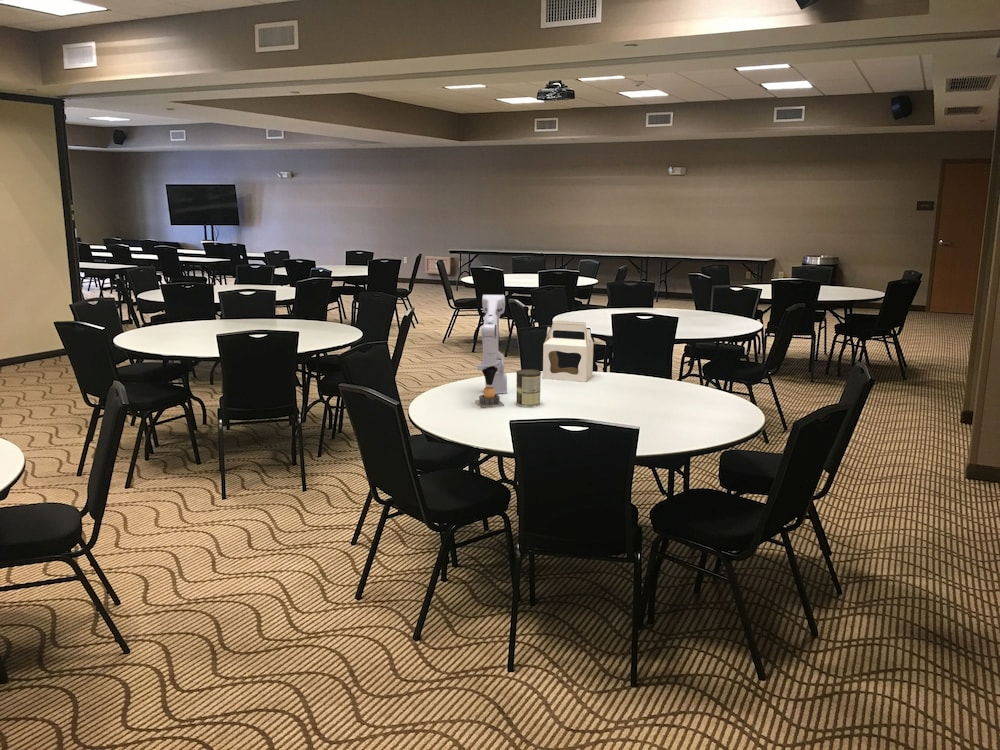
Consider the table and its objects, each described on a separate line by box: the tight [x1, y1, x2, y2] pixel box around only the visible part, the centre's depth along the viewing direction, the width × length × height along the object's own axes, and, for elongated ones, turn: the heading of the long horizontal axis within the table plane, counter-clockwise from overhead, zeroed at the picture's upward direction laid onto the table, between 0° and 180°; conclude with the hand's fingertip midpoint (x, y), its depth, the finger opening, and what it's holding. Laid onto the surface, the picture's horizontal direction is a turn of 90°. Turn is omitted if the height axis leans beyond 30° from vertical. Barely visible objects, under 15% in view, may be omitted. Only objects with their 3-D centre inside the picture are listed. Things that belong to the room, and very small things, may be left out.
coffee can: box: [515, 368, 542, 408], centre depth 323 cm, size 10×10×14 cm
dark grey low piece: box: [474, 394, 505, 409], centre depth 323 cm, size 10×10×4 cm
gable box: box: [542, 320, 594, 383], centre depth 375 cm, size 22×13×28 cm, turn 70°
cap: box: [483, 387, 496, 398], centre depth 323 cm, size 4×4×6 cm
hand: (489, 384), depth 322 cm, fingers closed
